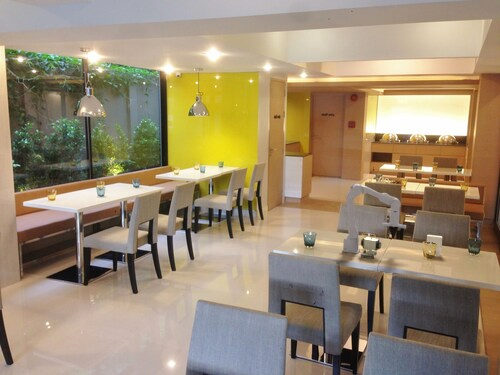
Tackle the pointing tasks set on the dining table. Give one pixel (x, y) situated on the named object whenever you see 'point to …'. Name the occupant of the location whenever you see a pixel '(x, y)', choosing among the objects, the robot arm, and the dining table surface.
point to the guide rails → (367, 255)
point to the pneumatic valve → (370, 245)
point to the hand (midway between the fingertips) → (393, 238)
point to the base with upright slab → (436, 240)
